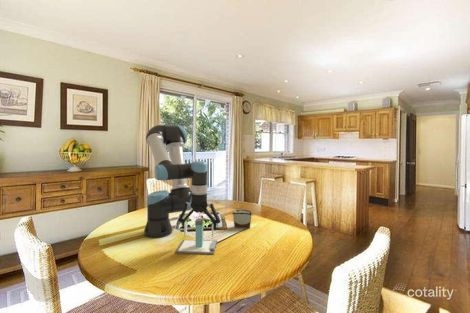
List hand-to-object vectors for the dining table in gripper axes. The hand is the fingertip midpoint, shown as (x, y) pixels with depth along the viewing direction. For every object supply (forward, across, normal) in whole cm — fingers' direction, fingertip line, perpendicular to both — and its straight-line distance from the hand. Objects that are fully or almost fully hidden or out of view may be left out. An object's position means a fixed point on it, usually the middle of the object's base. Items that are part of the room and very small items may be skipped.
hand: (199, 235), depth 117 cm
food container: (+6, +21, +30) cm, 37 cm away
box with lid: (+5, 0, 0) cm, 5 cm away
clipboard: (+6, -1, 0) cm, 6 cm away
